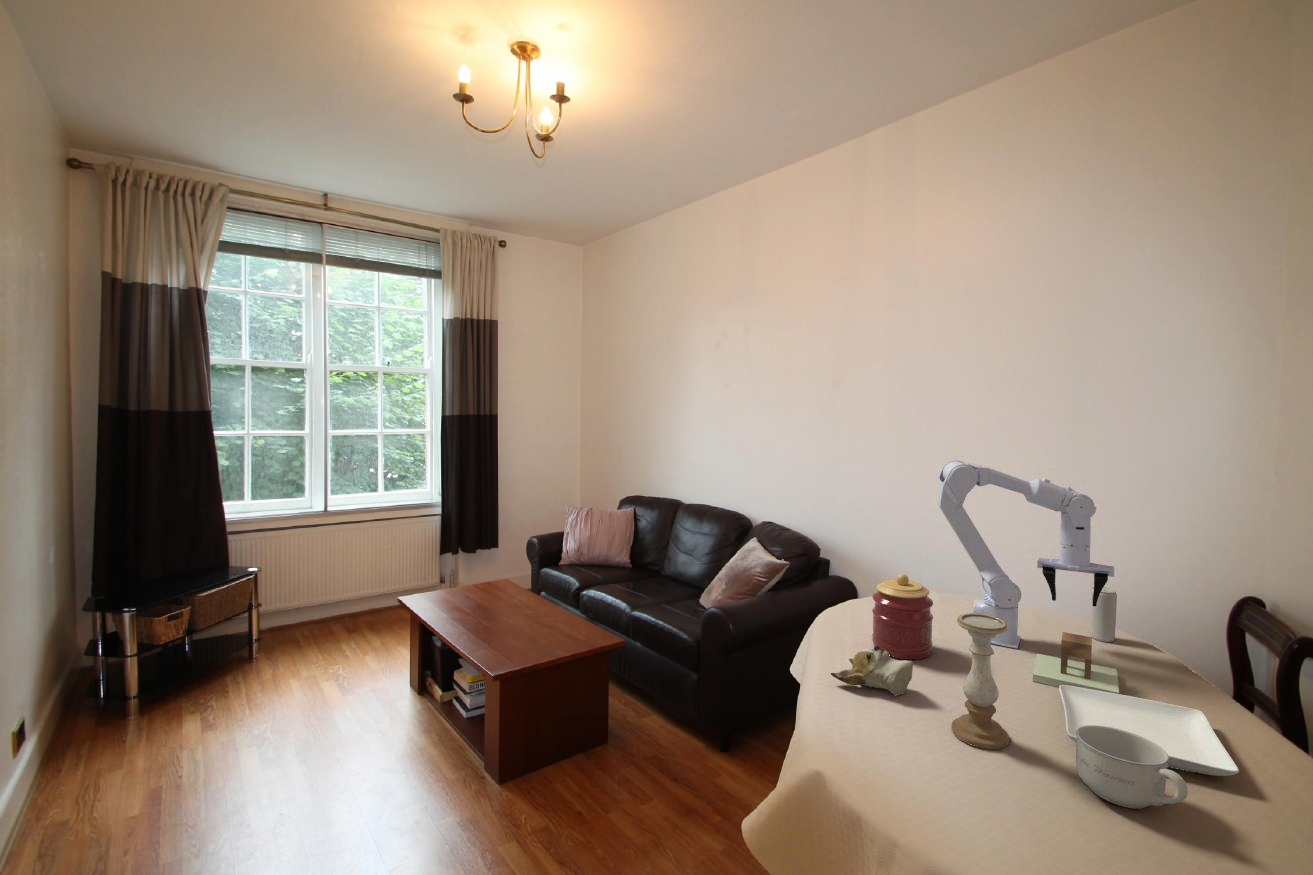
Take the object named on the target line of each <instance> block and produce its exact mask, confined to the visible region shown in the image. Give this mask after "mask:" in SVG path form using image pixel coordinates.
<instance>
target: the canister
mask: <svg viewBox="0 0 1313 875" xmlns="http://www.w3.org/2000/svg"><path fill="white" fill-rule="evenodd" d="M876 590H877V591H876V592H874V593H873V595H872V599H873V601H874V607H873V608H872V610H871V611H872V635H871V637H872V638H871V641H872V646H873V645H874V646H873V648H874V647H875V646H878V647H880V648H883V649H885V650H886V651H887V652H888V653H889V655H890V656H894V657H897V658H896V659H899V658H901V659H900V660H907V659H916V660H922V659H926V658H927V657H929V656H931V654H932V650H933V644H934V643H933V640H932V639H933V635H932V634H933V619H934V616H933V614H932V612H931V610H932V609H931V608H932V607H933V605H934V601H933V599H932V598H930V597H929V595H930V590H929V589H928V588H927V587H925V586H924V585H923V584H922V583H919V582H917V581H915V580H911V579H909V577H908V575H907V574H905V573H900V574H897V577H896V578H889V579H885V580H883V581H882V582H880V583H878V584H877V585H876ZM894 657H893V658H894Z"/></svg>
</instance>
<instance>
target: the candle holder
mask: <svg viewBox="0 0 1313 875" xmlns="http://www.w3.org/2000/svg"><path fill="white" fill-rule="evenodd" d="M956 622H957V624H958V626H959V627H961V628H962V629H964V630H966V631H967V634H969V636H971V637H970V638H971V640H972V639H973V640H972V643H971V644H970V646H969V647H968V650H969V651H970V652H971V656H972V658H971V667H970V671H969V672H968V675H966V677H965V680H964V682H963V685H962V691H963V694H964V696H965V697H966V699H967V700H966V701H965V702H964V707H965V708H966V709H967V712H968V713H966V714H962V715H960V716H959V717H958V718H955V719H953V720H952V722H951V725H950V728H951V732H952V731H953V732H952V734H953V733H954V734H955V735H954V734H953V735H954V736H955V737H956V738H957V737H958V738H960V739H961V740H963V741H965V742H966V743H965V742H964V743H965V744H967V743H969V744H968V745H970V744H972V745H975V746H977V747H976V748H979V747H981V748H980V749H984V748H986V750H999V749H1003V748H1006V747H1007V746H1008V745H1009V742H1010V736H1009V733H1008V731H1007V730H1006V729H1005V728H1003V727H1002V725H1001V724H1000V722H998V721H996V720H995V719H994V718H993V716H994V714H996V713H997V708H996V706H995V705H994V704H995V703H996V702H997V700H998V699H999V697H1000V696H999V689H998V686H997V683H996V682H995V679H994V677H993V674H992V670H991V669H992V668H991V667H992V666H991V657H992V655H994V654H995V651H994V649H993V648H992V646H991V645H992V644H991V641H992V639H994V638H995V637H996V634H1002V633H1005V632H1006V631H1007V630H1008V626H1007V624H1006V622H1005V621H1003V620H1001V619H999V618H997V617H994V616H990V615H985V614H978V613H973V612H970V613H968V612H967V613H962V614H960V615H959V616H958V617H957V619H956ZM958 738H957V739H958ZM960 739H959V740H960ZM961 740H960V741H961ZM963 741H962V742H963ZM972 745H971V746H972ZM975 746H974V747H975Z"/></svg>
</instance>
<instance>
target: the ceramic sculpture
mask: <svg viewBox="0 0 1313 875" xmlns="http://www.w3.org/2000/svg"><path fill="white" fill-rule="evenodd" d="M848 660H849V663H851V665H852V667H851V669H843V670H841V671H839V672H831V673H830V675H831V676H832V677H833V678H834V679H837V680H838V681H840V682H843V683H844V684H846V685H851V686H864V685H865V686H864V687H867V686H869V687H868V688H872V687H875V688H874V689H885V690H888V691H889V692H890V693H891V694H892V695H893V696H895V695H898V696H900V695H899V694H902V693H904V694H905V693H906V691H907V689H908V686H909V684H910V682H911V680H912V678H913V667H914V662H913V661H912V660H907V659H903V660H899V659H898V660H896V659H895V658H894V659H893V657H890V656H889V653H888V652H887V651H886V650H885V649H883V648H880V647H878V646H875V647H874V646H873V649H870V648H864V649H862V650H859V651H858V652H857V653H856V654H855V655H854V657H853V658H848ZM902 695H903V694H902Z"/></svg>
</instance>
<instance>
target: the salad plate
mask: <svg viewBox="0 0 1313 875" xmlns="http://www.w3.org/2000/svg"><path fill="white" fill-rule="evenodd" d="M1058 690H1059V694H1060V697H1061V701H1062V706H1063V710H1064V718H1065V730H1066V732H1067V734H1068V736H1069V738H1070V739H1071V740H1072V741H1073V742H1074V743H1076V742H1077V736H1076V731H1077V729H1078V728H1080V727H1083V726H1086V725H1092V726H1093V725H1096V726H1106V727H1112V728H1117V729H1121V730H1124V731H1128V732H1131V733H1133V734H1136V735H1139V736H1141V737H1144V738H1146V739H1148V740H1150V741H1152V742H1153V743H1155V744H1157V745H1158V746H1160V747H1161V748H1162V749H1163V750H1164V751H1165V752H1166V753H1167V754H1168V756H1169V762H1168V763H1167V766H1168V767H1167V768H1170V767H1173V768H1172V769H1174V768H1178V769H1177V770H1179V769H1184V770H1188V771H1187V772H1189V771H1193V772H1192V773H1195V772H1198V774H1203V775H1209V776H1217V777H1228V776H1234V775H1237V774H1239V772H1240V770H1239V767H1238V765H1237V764H1236V762H1235V761H1234V760H1233V758H1232V757H1231V755H1230V753H1229V752H1228V751H1227V750H1226V748H1225V745H1224V744H1223V743H1222V741H1221V740H1220V739H1219V737H1218V735H1217V734H1216V733H1215V730H1214V729H1213V727H1212V725H1211V723H1210V721H1209V720H1208V718H1207V716H1206V715H1205V714H1204V712H1203V711H1201V710H1199V709H1197V708H1191V707H1186V706H1182V705H1181V706H1180V705H1177V704H1174V703H1173V704H1172V703H1167V702H1162V701H1158V700H1152V699H1147V698H1142V697H1141V698H1140V697H1136V696H1132V695H1126V694H1125V695H1124V694H1121V693H1119V694H1115V693H1109V692H1103V691H1098V690H1092V689H1086V688H1080V687H1075V686H1068V685H1060V686H1059V687H1058ZM1184 770H1183V771H1184Z"/></svg>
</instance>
